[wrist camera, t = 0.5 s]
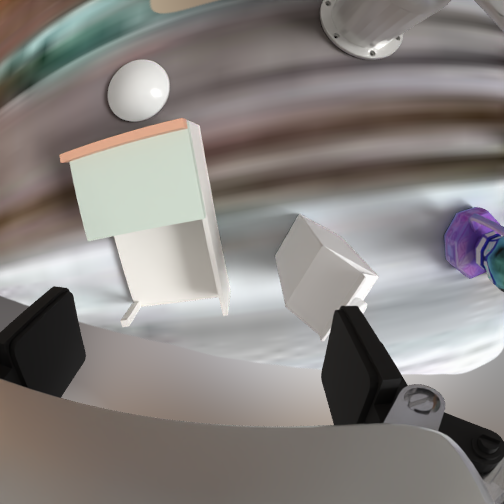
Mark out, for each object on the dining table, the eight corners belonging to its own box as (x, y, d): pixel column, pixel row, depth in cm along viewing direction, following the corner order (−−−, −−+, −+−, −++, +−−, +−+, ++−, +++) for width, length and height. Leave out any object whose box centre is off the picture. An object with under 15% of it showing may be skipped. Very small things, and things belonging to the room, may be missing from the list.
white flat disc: (107, 72, 37) (104, 70, 36) (165, 54, 36) (164, 52, 35) (114, 129, 39) (112, 128, 38) (174, 112, 39) (173, 111, 38)
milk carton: (274, 256, 45) (289, 327, 27) (299, 212, 43) (332, 259, 25) (316, 277, 47) (351, 353, 28) (341, 236, 45) (395, 293, 27)
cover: (73, 153, 33) (59, 154, 30) (188, 120, 32) (182, 118, 29) (92, 238, 36) (80, 246, 33) (206, 216, 36) (201, 223, 33)
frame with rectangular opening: (99, 151, 40) (75, 153, 33) (199, 125, 40) (189, 120, 33) (138, 303, 48) (122, 326, 41) (230, 290, 47) (227, 315, 40)
